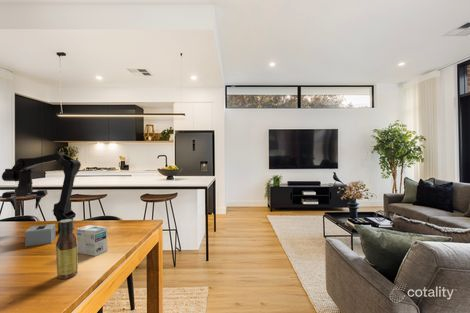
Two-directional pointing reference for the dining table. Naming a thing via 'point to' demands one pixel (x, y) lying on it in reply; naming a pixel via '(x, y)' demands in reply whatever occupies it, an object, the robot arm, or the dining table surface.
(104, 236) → the light bulb box
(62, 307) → the dining table surface
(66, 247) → the sauce bottle
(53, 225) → the coin box
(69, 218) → the robot arm
